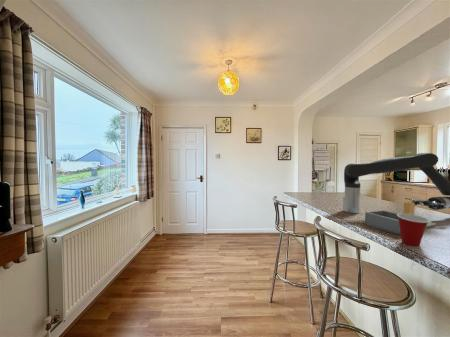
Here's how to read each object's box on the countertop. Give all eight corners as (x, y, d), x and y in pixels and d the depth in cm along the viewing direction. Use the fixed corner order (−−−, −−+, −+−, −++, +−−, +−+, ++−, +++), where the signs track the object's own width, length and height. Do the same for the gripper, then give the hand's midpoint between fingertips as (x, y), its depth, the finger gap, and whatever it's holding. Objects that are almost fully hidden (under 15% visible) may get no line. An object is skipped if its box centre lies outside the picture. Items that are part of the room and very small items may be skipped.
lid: (383, 220, 132) (384, 200, 131) (400, 218, 136) (401, 199, 136) (417, 229, 115) (419, 206, 114) (435, 227, 119) (436, 205, 119)
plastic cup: (415, 250, 88) (417, 220, 87) (389, 240, 98) (390, 214, 98) (435, 247, 91) (436, 219, 90) (407, 238, 101) (408, 212, 101)
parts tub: (364, 224, 122) (365, 212, 122) (383, 222, 126) (383, 210, 126) (399, 235, 105) (399, 221, 105) (418, 232, 109) (419, 218, 109)
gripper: (425, 195, 139) (407, 196, 134) (454, 199, 126) (435, 200, 121) (424, 206, 139) (406, 208, 135) (453, 212, 126) (435, 214, 121)
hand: (420, 204), depth 128 cm, fingers open, 8 cm apart
